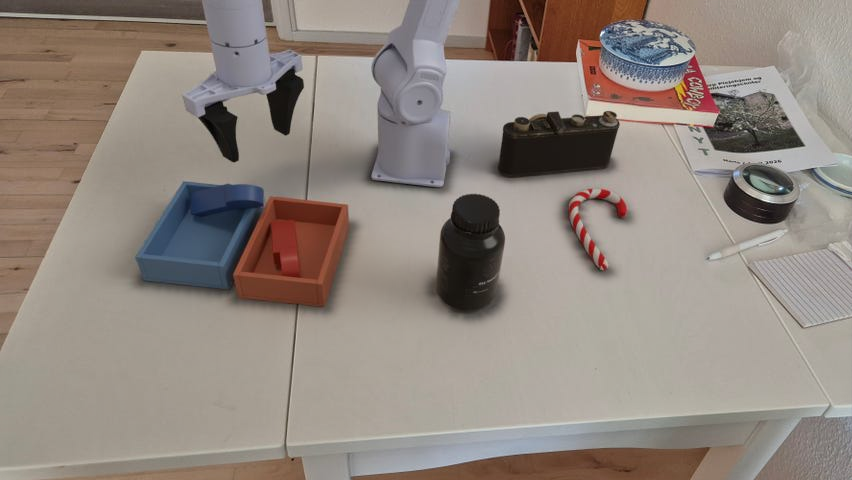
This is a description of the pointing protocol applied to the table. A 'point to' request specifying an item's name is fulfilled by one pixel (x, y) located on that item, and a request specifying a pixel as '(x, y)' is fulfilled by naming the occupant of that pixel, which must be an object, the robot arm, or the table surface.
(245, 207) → the blue spoon
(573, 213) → the candy cane
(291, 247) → the red spoon
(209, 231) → the blue bin
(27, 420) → the table surface
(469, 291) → the supplement bottle
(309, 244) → the red bin
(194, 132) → the table surface
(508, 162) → the camera
